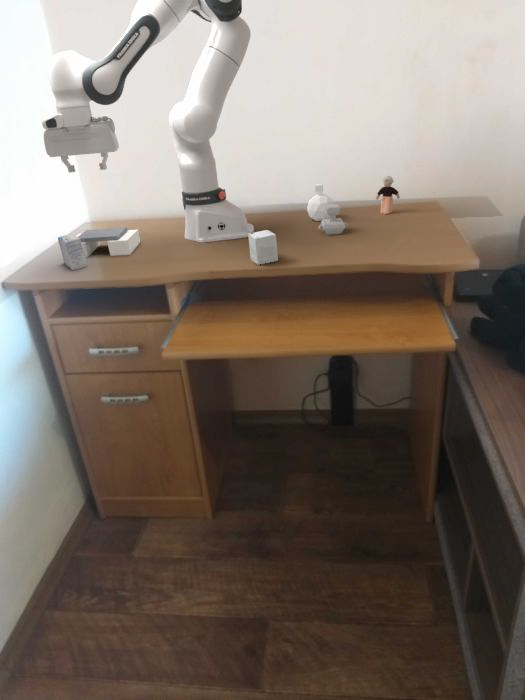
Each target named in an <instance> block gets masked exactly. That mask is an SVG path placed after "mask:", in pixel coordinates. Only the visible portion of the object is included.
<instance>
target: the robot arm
mask: <svg viewBox="0 0 525 700" xmlns="http://www.w3.org/2000/svg"><path fill="white" fill-rule="evenodd" d="M242 2H243V1H242V0H138V2H137V3H136V5H135V6H134V9H133V11H132V14H131V19H130V24H129V26H128V28H127V29H126V31H125V33H124V34H123V36H121V37H120V39H119V41H117V42H116V44H115V45H114V46H113V47H112V49H111V50H110V51H109V53H108V54H106V55H105V56H104V57H102V58H100V59H98V60H93V59H92V60H91V59H89V58H87V57H84V56H83V55H80V54H79V53H77V52H76V51H74V50H67V51H66V50H64V51H61V52H58V53H55V54H53V55H51V56H50V58H49V59H48V61H47V72H48V79H49V82H50V84H49V85H50V87H51V92H52V94H53V96H54V99H55V103H56V104H55V107H56V113H57V114H55V115H52V116H51V117H49V118H46V119H45V120H43V121H42V123H41V124H42V128H43V129H44V130H45V131H44V132H43V142H44V149H45V151H46V152H45V153H46V155H48V157H50V158H56V157H57V158H58V157H59V158H60V160H61V162H62V163H63V164H64V165H65V167H66V168H67V172H68V173H76V168H75V165H74V164H71V163H70V162H69V157H72V156H82V155H91V154H100V157H101V158H102V161H101V162H100V163H98V166H99V169H100V171H102V170H103V171H104V170H107V169H108V166H107V162H108V158H109V153H114V152H116V151H118V149H119V141H118V138H117V135H116V126H115V122H114V120H113V119H112V118H110V117H108V116H106V115H105V116H94V117H93V114H92V110H91V106H90V102H91V101H93V102H94V103H96V104H98V105H102V106H109V105H112V104H114V103H116V102H117V101H118V100H119V99H120V98H121V97H122V94H123V92H124V88H125V84H126V79H127V76H128V75H130V72H131V71H132V70H133V68H134V67H136V65H137V63H138V62H139V61H140V59H142V57H143V56H144V55H145V53H146V52H147V51H148V50H149V49H150V48H152V47H153V46H155V45H157V44H159V43H160V42H162V41H164V40H165V39H166V38H167V37H168V36H169V35H171V34H172V32H173V31H174V30H176V28H177V27H178V25H180V23H182V21H183V19H184V18H186V16H187V15H188V14H189V13H190V12H192V13H193V14H194V15H196V16H198V18H201V19H203V20H204V21H206V22H208V23H211V31H210V34H209V37H208V39H207V40H206V41H207V42H206V44H205V45H204V47H203V49H202V52H201V54H200V56H199V57H198V60H197V63H196V64H195V66H194V69H193V71H192V74H191V77H190V82H189V85H188V88H187V92H186V95H185V96H184V100H182V101H180V102H177V103H176V104H175V105H173V107H172V109H171V111H170V113H169V116H168V123H169V128H170V134H171V136H172V137H171V138H172V142H173V146H174V152H175V154H176V158H177V162H178V169H179V174H180V181H181V186H182V188H181V189H182V191H181V199H182V206H183V209H184V213H185V216H184V217H185V226H184V227H185V228H184V229H185V230H184V235H183V236H184V239H186V240H189V241H194V242H197V243H202V244H203V243H210V242H218V241H226V240H227V241H229V240H235V239H244V238H248V234H249V233H254V232H255V226H254V225H253V224H251V223H248V222H247V221H248V220H247V217H246V213H245V212H244V210H242V209H241V208H240V207H238V206H237V205H236V204H233V203H232V202H231V201H229V200H227V193H226V188H221V187H219V181H218V180H219V179H218V171H217V164H216V159H215V157H214V154H213V150H212V146H211V142H210V139H211V138H212V137H213V136H214V135H215V133H216V132H217V131H216V130H217V128H218V122H219V119H220V117H221V114H222V112H223V111H222V110H223V108H224V104H225V101H226V99H227V96H228V93H229V91H230V89H231V86H232V85H233V82H234V80H235V78H236V76H237V74H238V72H239V70H240V68H241V65H242V63H243V61H244V58H245V55H246V53H247V51H248V47H249V44H250V40H251V35H252V33H251V29H250V26H249V25H248V23H247V22H246V20H244V18H242V17H241V16H240V15H241V14H242V11H243V7H242V5H243V4H242Z"/></svg>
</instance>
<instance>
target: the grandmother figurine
mask: <svg viewBox="0 0 525 700" xmlns="http://www.w3.org/2000/svg"><path fill="white" fill-rule="evenodd" d="M382 182H383V187H381V188H380V189H379V191H377V194H376V196H375V199H376V200H379V199H380V196H381V195H382V196H381V201H380V202H381V203H380V212H379V214H380V215H381V214H382V213H384V214H382V215H390V214H389V213H391V214H392V213H393V208H394V203H393V202H394V201H393V200H394V197H393V195H395V197H396V198H397V199H400V198H401V195H400V194H399V190H397V189H396V188H395V187H393V186H392V184H393V183H394V179H393V177H392V176H390V175H385V176H384V177H383V179H382Z"/></svg>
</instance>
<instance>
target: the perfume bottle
mask: <svg viewBox="0 0 525 700" xmlns="http://www.w3.org/2000/svg"><path fill="white" fill-rule="evenodd" d="M314 186H315V193H316V195H313V196H312V197H311V198H309V200H308V202H307V207H306V211H307V213H308V214H307V215H308V217H309V218H311V220H314V221H315V222H321V221H322V220H323V219H329V215H327V213H326V210H325V205H333V204H334V200H333V199H332V197H330V196H328V195H327V194H325V193H324V183H315V185H314ZM323 193H324V194H323Z"/></svg>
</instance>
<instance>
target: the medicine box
mask: <svg viewBox="0 0 525 700" xmlns="http://www.w3.org/2000/svg"><path fill="white" fill-rule="evenodd" d="M76 236H77V235H74V234H72V233H70V234H65V235H61V236H58V237H57V241H58V245H59V248H60V251H61V256H62V259H63V263H64V264H65V265H66V267H68V268H70V269H71V270H72V271H74V270H78V269H82V268H86V267H88V263H87V259H86V257H85V255H84V251H83V247H82V244H81V240H80V239H79V238H78V237H76Z"/></svg>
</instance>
